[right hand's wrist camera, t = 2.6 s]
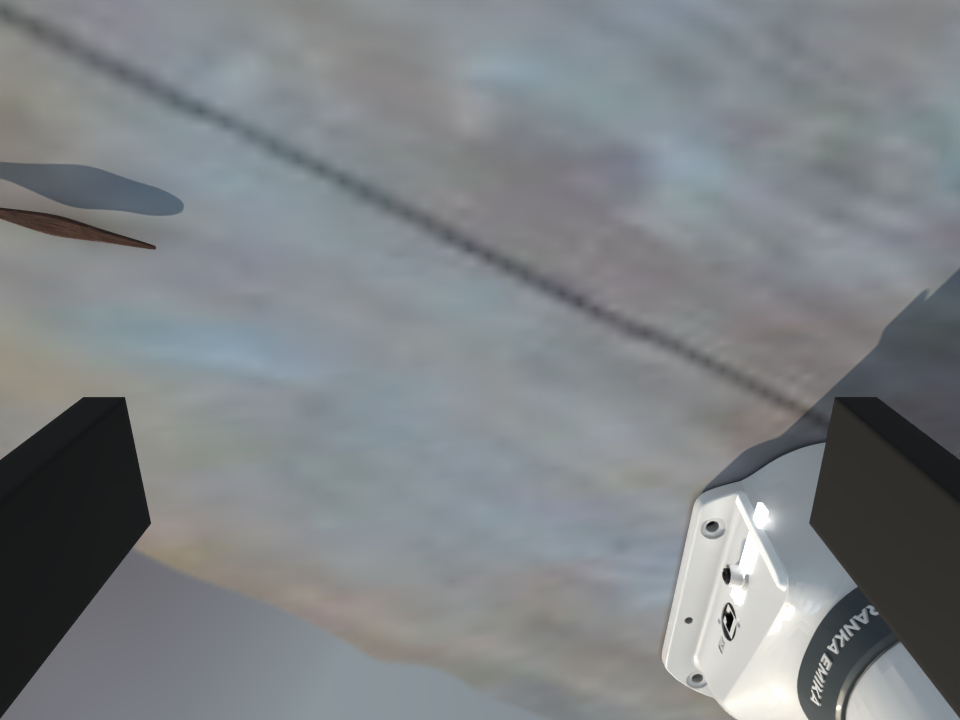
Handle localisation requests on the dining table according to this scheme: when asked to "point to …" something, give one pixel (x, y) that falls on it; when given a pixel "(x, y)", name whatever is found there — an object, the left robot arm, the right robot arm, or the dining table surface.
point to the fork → (67, 228)
